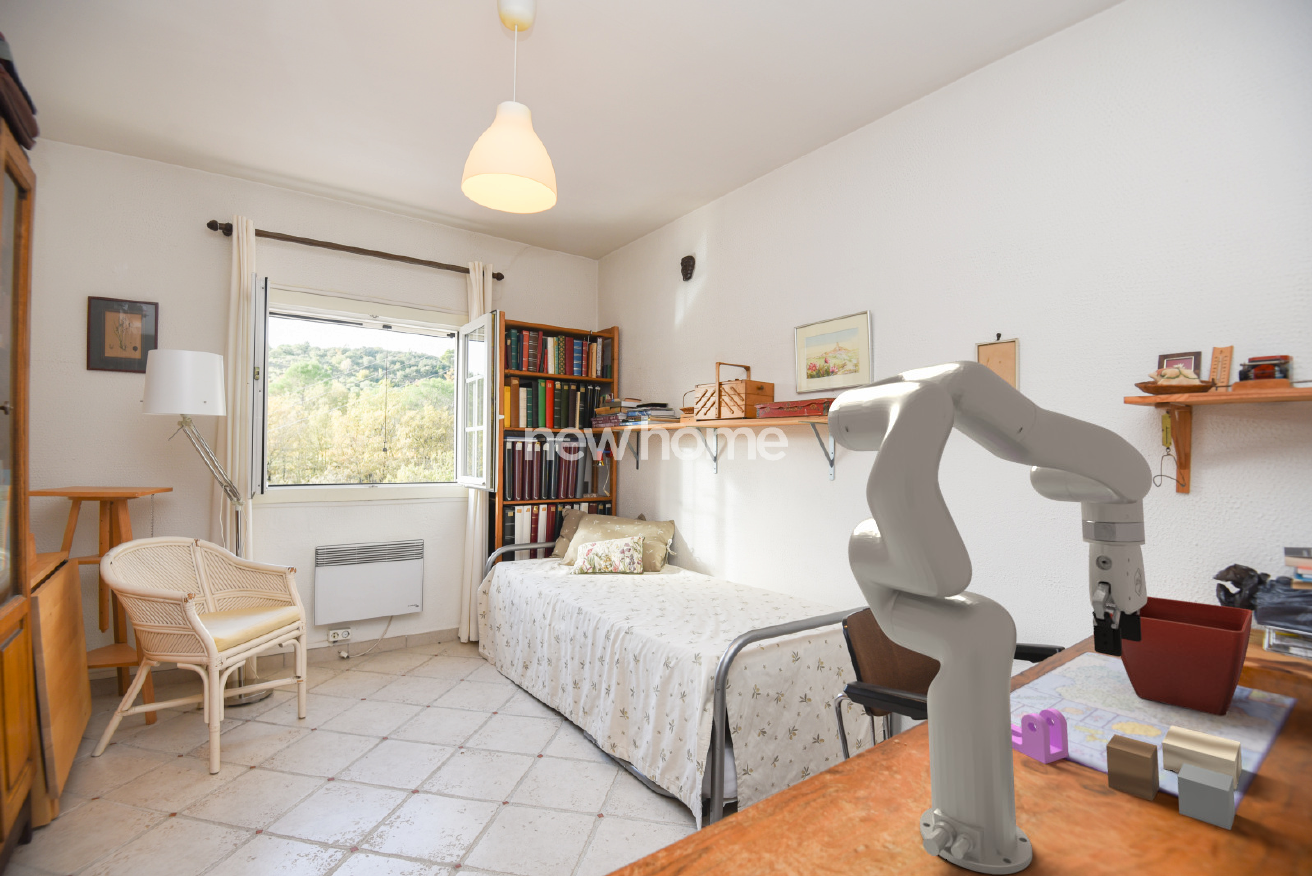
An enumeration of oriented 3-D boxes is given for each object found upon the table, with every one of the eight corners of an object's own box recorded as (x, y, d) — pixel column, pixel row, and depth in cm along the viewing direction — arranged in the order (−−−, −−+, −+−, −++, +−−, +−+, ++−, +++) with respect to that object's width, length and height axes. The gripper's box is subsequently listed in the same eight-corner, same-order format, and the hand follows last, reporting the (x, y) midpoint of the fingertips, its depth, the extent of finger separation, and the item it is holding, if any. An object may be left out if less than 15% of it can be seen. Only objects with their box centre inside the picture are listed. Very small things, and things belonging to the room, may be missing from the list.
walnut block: (1152, 801, 83) (1150, 758, 83) (1108, 787, 87) (1106, 745, 87) (1159, 787, 87) (1157, 745, 87) (1116, 774, 90) (1114, 734, 90)
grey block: (1230, 830, 77) (1228, 791, 77) (1179, 814, 80) (1177, 776, 81) (1235, 814, 80) (1232, 776, 80) (1185, 798, 84) (1183, 762, 84)
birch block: (1236, 789, 85) (1234, 761, 85) (1163, 768, 91) (1162, 742, 91) (1242, 768, 90) (1240, 742, 91) (1172, 750, 97) (1171, 725, 97)
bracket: (1068, 757, 96) (1066, 713, 96) (1045, 765, 94) (1042, 720, 94) (995, 724, 108) (994, 685, 108) (973, 730, 106) (971, 690, 106)
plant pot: (1249, 730, 102) (1243, 631, 103) (1111, 698, 117) (1107, 611, 117) (1258, 697, 115) (1253, 609, 115) (1133, 672, 129) (1129, 594, 130)
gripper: (1126, 541, 82) (1133, 667, 81) (1159, 528, 92) (1165, 639, 92) (1063, 536, 88) (1069, 654, 87) (1101, 525, 98) (1106, 629, 98)
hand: (1118, 646), depth 90 cm, fingers open, 9 cm apart
